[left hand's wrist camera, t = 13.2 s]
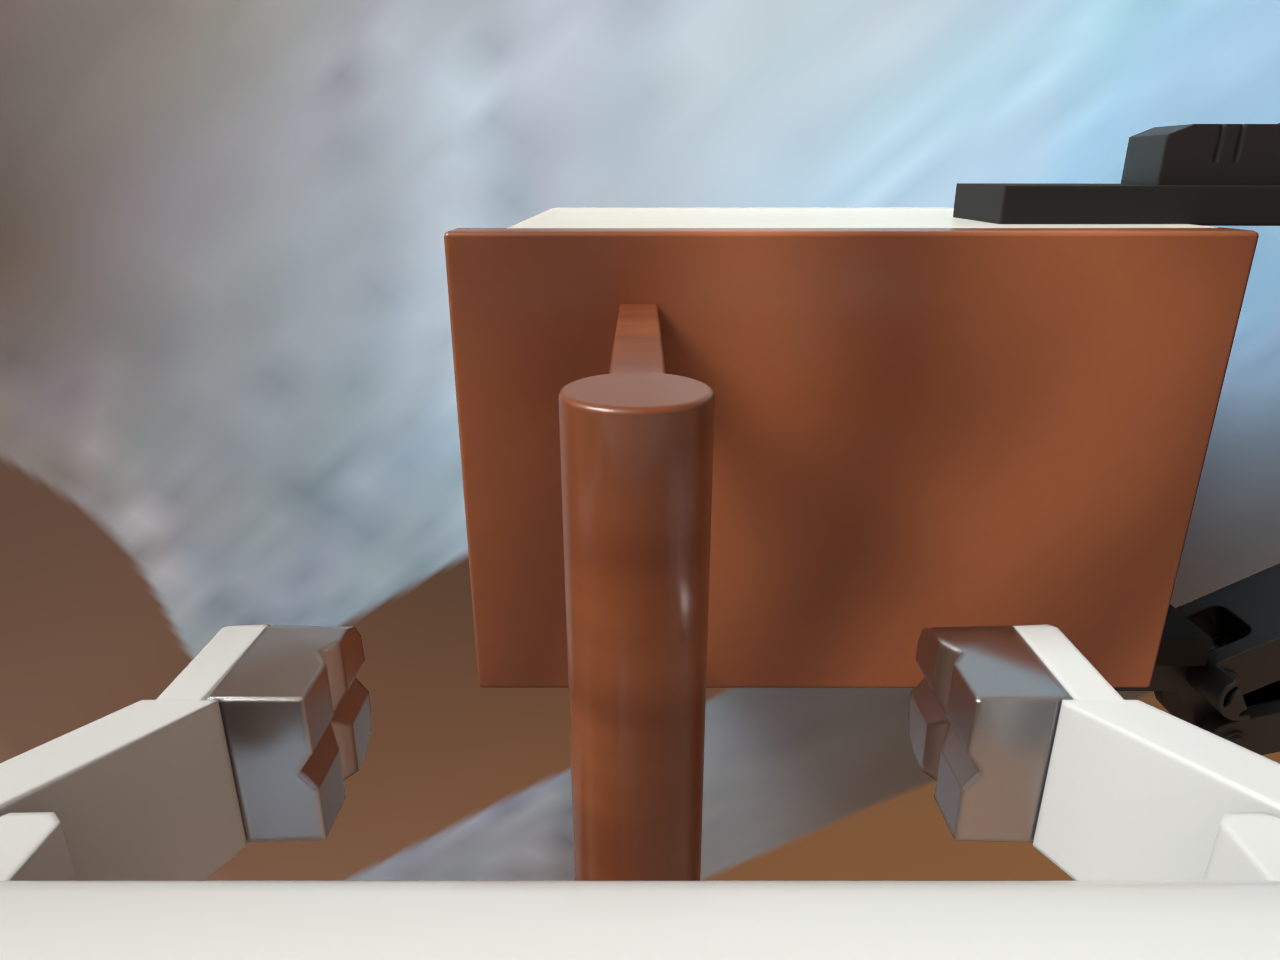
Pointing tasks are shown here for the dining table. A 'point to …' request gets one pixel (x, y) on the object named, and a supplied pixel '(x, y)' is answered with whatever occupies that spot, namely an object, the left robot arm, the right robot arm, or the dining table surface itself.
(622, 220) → the chest
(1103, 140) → the dining table surface
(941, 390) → the lid
